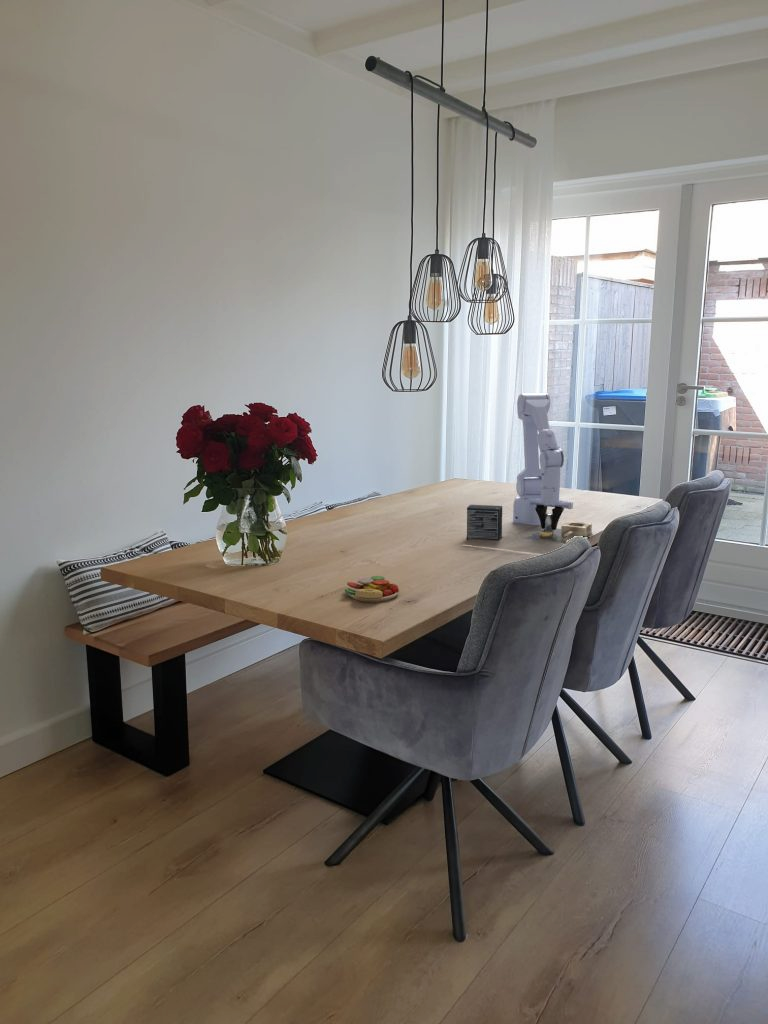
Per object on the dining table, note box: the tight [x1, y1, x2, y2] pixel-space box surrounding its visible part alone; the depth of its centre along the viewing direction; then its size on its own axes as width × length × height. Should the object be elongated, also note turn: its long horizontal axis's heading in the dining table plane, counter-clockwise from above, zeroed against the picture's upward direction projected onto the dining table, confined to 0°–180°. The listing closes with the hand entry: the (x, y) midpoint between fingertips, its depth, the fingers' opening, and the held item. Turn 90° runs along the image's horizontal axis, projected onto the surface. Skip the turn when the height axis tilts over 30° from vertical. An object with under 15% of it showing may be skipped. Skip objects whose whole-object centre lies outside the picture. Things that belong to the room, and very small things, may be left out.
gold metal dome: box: [538, 530, 552, 539], centre depth 258 cm, size 4×4×2 cm
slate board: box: [526, 528, 574, 543], centre depth 261 cm, size 15×17×1 cm
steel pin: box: [544, 512, 554, 533], centre depth 263 cm, size 3×3×6 cm
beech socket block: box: [560, 520, 593, 537], centre depth 263 cm, size 8×8×3 cm
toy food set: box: [344, 575, 400, 603], centre depth 201 cm, size 13×13×3 cm
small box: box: [466, 504, 503, 541], centre depth 258 cm, size 11×6×10 cm, turn 74°
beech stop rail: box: [562, 531, 573, 543], centre depth 254 cm, size 1×6×2 cm, turn 150°
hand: (548, 528), depth 264 cm, fingers closed on steel pin, 3 cm apart
